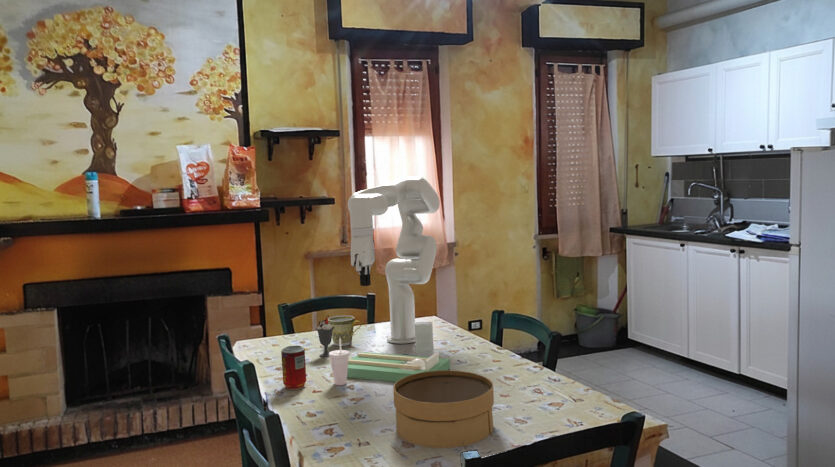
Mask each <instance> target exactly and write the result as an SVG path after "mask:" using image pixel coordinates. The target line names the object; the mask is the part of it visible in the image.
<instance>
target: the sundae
mask: <svg viewBox="0 0 835 467" xmlns="http://www.w3.org/2000/svg"><path fill="white" fill-rule="evenodd" d="M328 317H330V315H329V314H327V316H326V317H325V319H324V320H322V321H321V320H319V321H318V327H315V331H317V333H318V339H319V343H320V344H321V346H323V347H324V349H323V350H324V352H323V353H322V354H319V357H320V358H330V357H329V353H330V351H329V350H328V349H329V348H328V346H329V345H330V344H331V343H332V341H333V339H332V331H333V329H334V328H335V327H333V326H331V325H330V323H329V321H328V319H329V318H328Z"/></svg>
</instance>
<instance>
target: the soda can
mask: <svg viewBox="0 0 835 467" xmlns="http://www.w3.org/2000/svg"><path fill="white" fill-rule="evenodd" d="M305 354H306V350H305V347H303V346H301V345H289V346H286V347H284V348H282V349H281V367H282V368H281V370H282V382H283V385H284V388H285V389H286V390H290V391H291V390H292V391H293V390H294V391H295V390H302V389H303V388H304V387H305V385H306V383H307V370H306V365H307V364H306V355H305Z"/></svg>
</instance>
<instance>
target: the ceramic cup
mask: <svg viewBox="0 0 835 467" xmlns="http://www.w3.org/2000/svg"><path fill="white" fill-rule="evenodd" d="M327 319H328V321H329V323H330V325H331V326H333V327H335V328H334V329H333V331H332V342H333V345H334V346H336V347H340V344H339V339H341V347H345V346H349V345H352V342H353V336H354V334H355V333H356V332H357V331H358V330H359V329H360V328H361V327H362V322H361V321H360V320H358V319H357V320H356V318H355V317H354V316H353V315H336V316H332V317H331V316H330V317H329V318H327ZM356 323H359V326H358V327H357V328H356V329H355V330H354V327H355V324H356Z"/></svg>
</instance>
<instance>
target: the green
mask: <svg viewBox="0 0 835 467" xmlns="http://www.w3.org/2000/svg"><path fill="white" fill-rule="evenodd" d="M439 354H440V353H439V352H434V354H433V355H432V356H431V357H419V356H416V355H407V354H406V355H404V354H391V353H382V352H381V353H379V352H367V351H362V352H358V353H357V354H356V355H355V356H352V357H351V358H350V359H349V358H348V372H347V378H351V379H352V378H354V379H361V380H363V379H365V380H372V381H373V380H375V381H384V382H392V383H393V382H394V383H396V382H397V381H399V380H400V379H402V378H404V377H407V376H409V375H413V374H417V373H421V372H428V371H442V370H446V371H449V369H451V359H450V358H442V357H441V358H440V357H439V356H440V355H439ZM414 359H422V360H423V361H424V362H425V366H424V367H420V366H418V365H410V364H411V362H412V361H413V360H414Z"/></svg>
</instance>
